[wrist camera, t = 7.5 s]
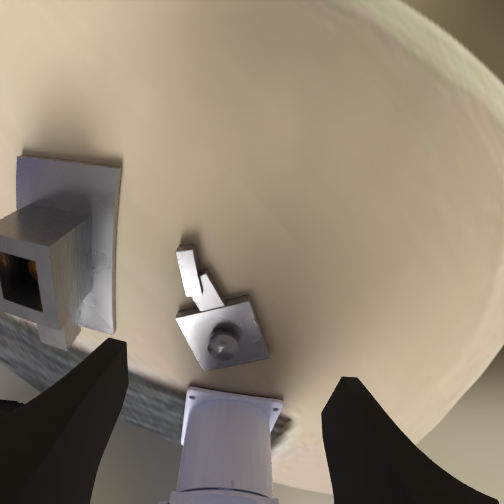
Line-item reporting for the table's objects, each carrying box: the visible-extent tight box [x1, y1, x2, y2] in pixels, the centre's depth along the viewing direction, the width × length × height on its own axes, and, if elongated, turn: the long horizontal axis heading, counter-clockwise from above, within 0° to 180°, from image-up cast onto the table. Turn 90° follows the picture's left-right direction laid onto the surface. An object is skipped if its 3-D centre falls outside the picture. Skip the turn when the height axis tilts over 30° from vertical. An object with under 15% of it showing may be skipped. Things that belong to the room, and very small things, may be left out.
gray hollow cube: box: [0, 204, 93, 331], centre depth 16 cm, size 5×5×5 cm
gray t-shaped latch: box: [176, 244, 270, 371], centre depth 20 cm, size 10×5×2 cm, turn 17°
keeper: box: [16, 155, 122, 351], centre depth 17 cm, size 12×8×4 cm, turn 168°
